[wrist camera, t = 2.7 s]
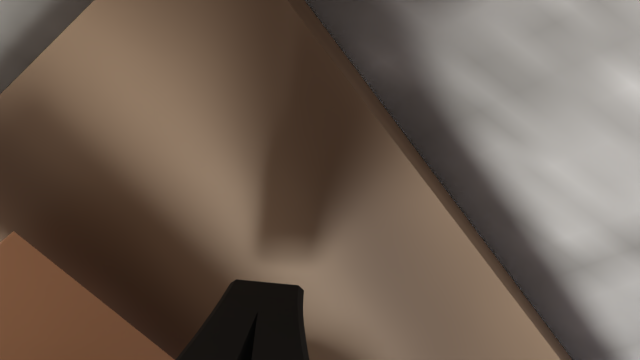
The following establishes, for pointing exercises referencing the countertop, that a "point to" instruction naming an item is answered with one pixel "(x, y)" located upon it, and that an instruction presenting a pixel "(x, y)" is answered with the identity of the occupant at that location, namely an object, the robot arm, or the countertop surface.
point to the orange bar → (59, 314)
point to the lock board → (246, 186)
